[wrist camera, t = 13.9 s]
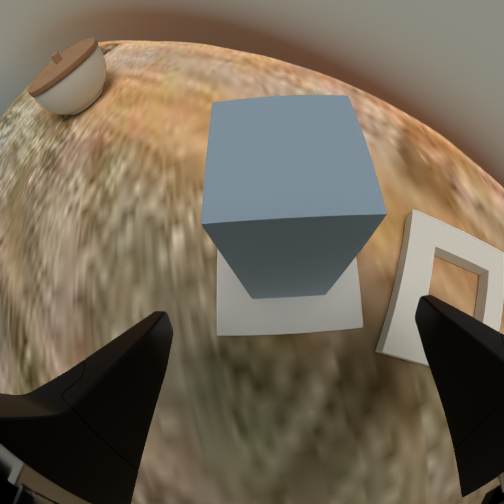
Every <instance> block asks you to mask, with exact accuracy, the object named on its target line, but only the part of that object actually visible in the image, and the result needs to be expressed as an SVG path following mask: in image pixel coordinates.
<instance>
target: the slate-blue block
mask: <svg viewBox="0 0 504 504" xmlns="http://www.w3.org/2000/svg"><path fill="white" fill-rule="evenodd" d="M386 214H387V213H386V209H385V205H384V201H383V197H382V193H381V190H380V186H379V182H378V179H377V176H376V172H375V169H374V166H373V162H372V159H371V156H370V153H369V150H368V147H367V144H366V141H365V138H364V136H363V133H362V130H361V127H360V125H359V122H358V120H357V117H356V114H355V112H354V109H353V107H352V105H351V102H350V100H349V97H348V96H335V95H294V96H273V97H259V98H248V99H239V100H230V101H223V102H216V103H213V104H212V112H211V120H210V128H209V137H208V147H207V157H206V168H205V179H204V191H203V205H202V220H201V224H202V226H203V228H204V229H205V231H206V232H207V234H208V235H209V237H210V238H211V240H212V241H213V243H214V244H215V245H216V247H217V248H218V250H219V251H220V253H221V254H222V256H223V257H224V259H225V260H226V262H227V263H228V265H229V266H230V268H231V269H232V271H233V272H234V273H235V275H236V276H237V278H238V279H239V281H240V282H241V284H242V285H243V287H244V288H245V289H246V291H247V292H248V294H249V295H250V297H251V298H252V299H264V298H285V297H302V296H317V295H326V293H327V292H328V291H329V290H330V289H331V287H332V286H333V285H334V284H335V282H336V281H337V280H338V279H339V277H340V276H341V275H342V274H343V272H344V271H345V270H346V269H347V267H348V266H349V265H350V264H351V262H352V261H353V260H354V258H355V257H356V256H357V254H358V253H359V252H360V250H361V249H362V248H363V246H364V245H365V244H366V242H367V241H368V240H369V238H370V237H371V236H372V234H373V233H374V231H375V230H376V229H377V227H378V226H379V224H380V223H381V222H382V220H383V219H384V217H385V216H386Z"/></svg>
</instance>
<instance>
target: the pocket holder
mask: <svg viewBox="0 0 504 504" xmlns="http://www.w3.org/2000/svg"><path fill="white" fill-rule="evenodd" d="M434 256H436V257H438V258H441V259H443V260H445V261H448V262H450V263H452V264H455V265H457V266H459V267H462V268H464V269H466V270H468V271H471V272H473V273H475V274H477V275H479V283H478V292H477V300H476V307H475V314H474V318H475V319H477V320H479V321H480V322H482V323H484V324H486V325H488V326H489V327H491V328H493V329H495V330H496V331H498V332H499V330H500V324H501V317H502V309H503V300H504V253H503V252H502V251H500V250H498V249H496V248H494V247H492V246H491V245H489V244H487V243H485V242H483V241H481V240H479V239H477V238H475V237H473V236H471V235H469V234H467V233H465V232H463V231H461V230H459V229H457V228H455V227H453V226H451V225H448V224H446V223H444V222H442V221H440V220H437V219H435V218H433V217H431V216H428V215H426V214H424V213H421V212H419V211H416V210H414V209H413V210H412V211H411V212H410V213H409V215H408V216H407V217H406V222H405V229H404V236H403V242H402V248H401V253H400V258H399V264H398V268H397V273H396V278H395V282H394V287H393V291H392V295H391V299H390V303H389V307H388V310H387V314H386V318H385V321H384V325H383V328H382V331H381V335H380V338H379V341H378V344H377V347H376V350H375V352H377V353H381V354H384V355H387V356H391V357H394V358H398V359H402V360H405V361H409V362H413V363H416V364H420V365H424V366H428V367H429V364H428V361H427V359H426V356H425V353H424V349H423V346H422V342H421V339H420V335H419V332H418V328H417V325H416V322H415V313H416V309H417V305H418V302H419V299H420V297H421V296H425V295H428V292H429V287H430V281H431V275H432V268H433V261H434Z"/></svg>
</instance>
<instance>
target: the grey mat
mask: <svg viewBox="0 0 504 504" xmlns="http://www.w3.org/2000/svg"><path fill="white" fill-rule="evenodd" d="M356 328H363V317H362V305H361V295H360V285H359V277H358V269H357V261H356V257H355V258H354V260H353V261H352V262H351V264H350V265H349V266H348V267H347V269H346V270H345V271H344V272H343V274H342V275H341V276H340V277H339V279H338V280H337V281H336V282H335V284H334V285H333V286H332V287H331V289H330V290H329V291H328V292H327V293H326V295H317V296H302V297H285V298H264V299H252V298H251V297H250V295H249V294H248V292H247V291H246V289H245V288H244V287H243V285H242V284H241V282H240V281H239V279H238V278H237V276H236V275H235V273H234V272H233V271H232V269H231V268H230V266H229V265H228V263H227V262H226V260H225V259H224V257H223V256H222V254H221V253H220V251H219V250H218V249H217V336H251V335H280V334H299V333H313V332H326V331H337V330H347V329H356Z"/></svg>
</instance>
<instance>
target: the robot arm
mask: <svg viewBox="0 0 504 504" xmlns="http://www.w3.org/2000/svg"><path fill="white" fill-rule="evenodd" d="M415 322H416V325H417V328H418V332H419V335H420V339H421V342H422V346H423V349H424V353H425V356H426V359H427V361H428V364H429V367H430V369H431V372H432V375H433V378H434V381H435V384H436V387H437V390H438V393H439V396H440V399H441V402H442V405H443V409H444V412H445V416H446V419H447V423H448V427H449V431H450V435H451V439H452V443H453V447H454V449H455V450H454V452H455V457H456V462H457V468H458V473H459V479H460V486H461V493H462V497H465V496H466V495H468V494H470V493H472V492H474V491H475V490H477V489H479V488H480V487H482V486H484V485H485V484H487V483H489V482H490V481H492V480H493V479H495V478H496V477H498V479H499V483H500V485H498V486H497V487H495V488H494V489H492V490H491V491H489V492H488V493H486V495H485V497H484V499H483V501H482V503H481V504H504V335H503V334H502V333H500V332H498V331H496V330H495V329H493V328H491V327H489V326H488V325H486V324H484V323H482V322H480V321H479V320H477V319H475V318H473V317H471V316H470V315H468V314H466V313H464V312H462V311H460V310H458V309H457V308H455V307H453V306H451V305H449V304H447V303H445V302H443V301H442V300H440V299H438V298H436V297H434V296H432V295H425V296H421V297H420V299H419V302H418V305H417V309H416V313H415ZM172 338H173V329H172V326H171V323H170V320H169V317H168V314H167V313H166V312H165V311H155V312H154V313H152V314H151V315H149V316H148V317H146V318H145V319H143V320H142V321H140V322H139V323H137V324H136V325H134V326H133V327H131V328H130V329H129V330H127V331H126V332H124V333H123V334H121V335H120V336H118V337H117V338H115V339H114V340H112V341H111V342H110V343H108V344H107V345H105V346H104V347H102V348H101V349H99V350H98V351H96V352H95V353H93V354H92V355H90V356H89V357H88V358H86V359H85V360H83V361H82V362H80V363H79V364H77V365H76V366H74V367H73V368H71V369H70V370H68V371H67V372H65V373H63V374H62V375H60V376H58V377H57V378H55V379H53V380H51V381H50V382H48V383H46V384H44V385H43V386H41V387H39V388H37V389H36V390H34V391H32V392H30V393H27V394H24V395H10V394H1V393H0V504H131V501H132V496H133V492H134V487H135V483H136V479H137V475H138V470H139V466H140V462H141V458H142V454H143V450H144V446H145V443H146V439H147V435H148V431H149V428H150V424H151V421H152V417H153V414H154V410H155V407H156V403H157V400H158V396H159V393H160V390H161V386H162V383H163V380H164V377H165V373H166V369H167V364H168V359H169V354H170V348H171V343H172Z"/></svg>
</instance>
